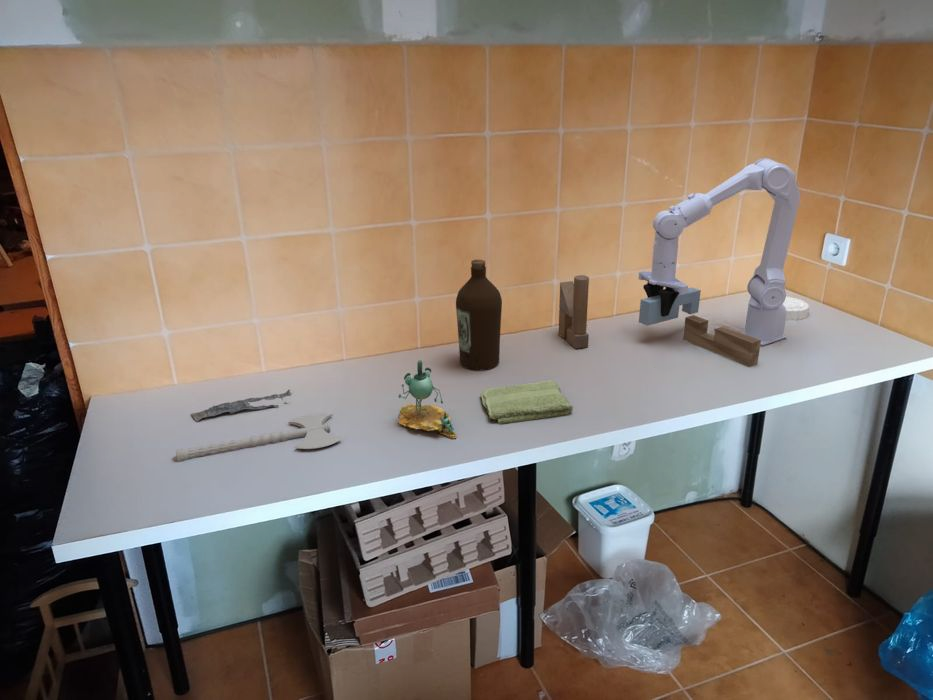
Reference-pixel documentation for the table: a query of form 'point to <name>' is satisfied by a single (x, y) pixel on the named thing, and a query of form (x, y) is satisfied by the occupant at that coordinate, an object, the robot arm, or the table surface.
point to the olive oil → (479, 320)
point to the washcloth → (525, 402)
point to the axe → (274, 438)
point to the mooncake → (795, 308)
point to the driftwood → (237, 406)
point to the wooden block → (574, 311)
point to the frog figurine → (424, 406)
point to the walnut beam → (722, 341)
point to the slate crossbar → (652, 308)
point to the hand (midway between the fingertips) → (659, 313)
